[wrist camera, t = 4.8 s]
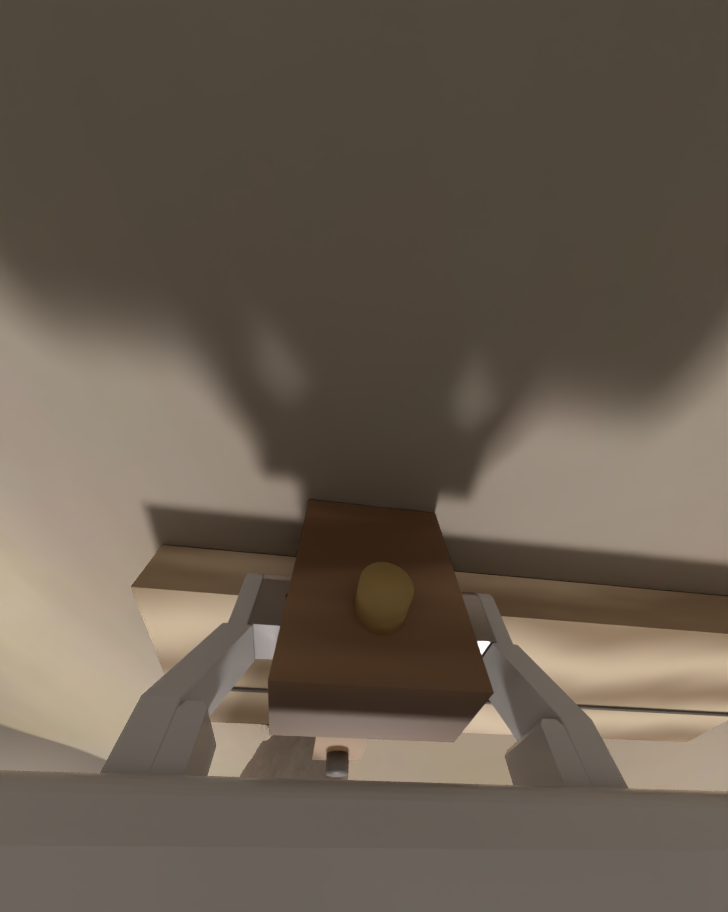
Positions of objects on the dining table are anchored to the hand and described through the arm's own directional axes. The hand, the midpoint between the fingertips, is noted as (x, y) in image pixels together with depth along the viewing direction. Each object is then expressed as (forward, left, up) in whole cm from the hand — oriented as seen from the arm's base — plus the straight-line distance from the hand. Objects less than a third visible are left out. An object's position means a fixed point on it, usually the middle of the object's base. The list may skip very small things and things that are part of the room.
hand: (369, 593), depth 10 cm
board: (+8, +7, -3) cm, 11 cm away
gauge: (+4, 0, -3) cm, 5 cm away
